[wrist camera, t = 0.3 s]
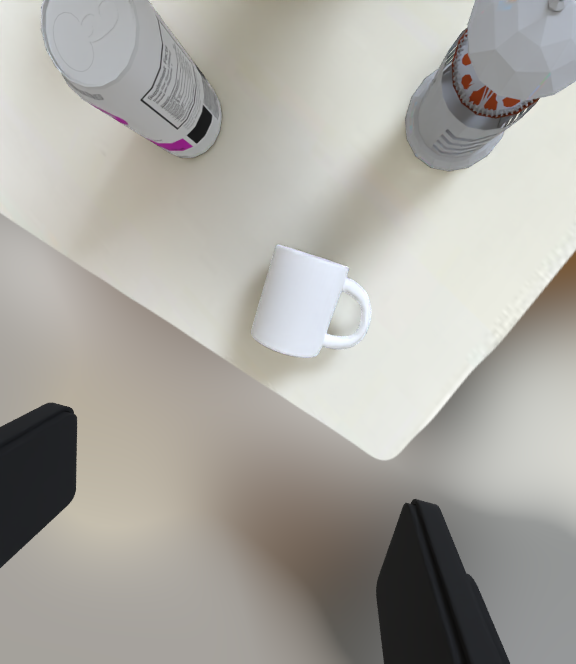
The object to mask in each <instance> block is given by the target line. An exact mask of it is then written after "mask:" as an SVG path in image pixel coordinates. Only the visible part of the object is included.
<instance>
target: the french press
mask: <svg viewBox="0 0 576 664" xmlns="http://www.w3.org/2000/svg"><path fill="white" fill-rule="evenodd" d="M456 46H457V47H456ZM455 47H456V48H455ZM454 48H455V49H454ZM453 49H454V50H453ZM452 50H453V51H452ZM451 51H452V52H451ZM450 52H451V53H450ZM454 52H455V53H454ZM449 53H450V54H449ZM453 53H454V54H453ZM452 54H453V55H452ZM451 55H452V56H451ZM447 56H448V57H447ZM450 56H451V57H450ZM449 57H450V58H449ZM453 57H454V58H453ZM448 58H449V59H448ZM452 58H453V59H452ZM447 59H448V60H447ZM451 59H452V60H451ZM446 60H447V61H446ZM450 60H451V61H450ZM445 61H446V62H445ZM449 61H450V62H449ZM448 62H449V63H448ZM451 62H452V63H451ZM447 63H448V64H447ZM575 81H576V0H475V3H474V6H473V9H472V12H471V16H470V19H469V22H468V27H467V28H466V29H465V30H464V31H462V33H461V34H460V35H459V37H458V38H457V40H456V41H455V42H454V44H453V45H452V47H451V48H450V49H449V51H448V53H447V54H446V56H445V58H444V60H443V62H442V63H441V65H440V67H439V69H437V70H436V71H435V72H433V73H432V74H430V75H429V76H428V77H426V78H425V79H424V80H423V82H422V83H421V85H420V86H419V87H418V89H417V90H416V92H415V93H414V94H413V96H412V97H411V101H410V104H409V108H408V111H407V115H406V118H405V121H406V135H407V140H408V142H409V144H410V146H411V148H412V150H413V152H414V154H415V156H416V157H417V158H419V159H420V160H421V161H423V162H424V163H425V164H427V165H428V166H429V167H431V168H436V169H440V170H445V171H453V170H458V169H463V168H468V167H470V166H472V165H473V164H475V163H476V162H478V161H480V160H481V159H483V158H484V157H486V156H487V155H488V154H489V153H490V152H491V151H492V149H493V148H494V147H495V146H496V144H497V143H498V142H499V141H500V140H501V138H502V136H503V133H504V131H505V130H506V129H507V128H509V127H510V126H511V125H513V124H514V123H516V122H517V121H518V120H519V119H521V118H522V117H523V116H524V115H525V114H526V113H527V112H528V111H529V110H530V109H531V108H532V107H533V106H534V105H535V104H536V103H537V101H538V100H539V99H540V98H541V97H546V96H550V95H554V94H556V93H557V92H559V91H561V90H562V89H564V88H566V87H567V86H569V85H570V84H572V83H574V82H575ZM527 107H528V108H527ZM526 108H527V110H526V112H525V113H524V114H523V112H524V110H525V109H526ZM519 112H520V114H519V116H518V117H517V119H518V118H519V117H520V116H521V115H522V114H523V115H522V116H521V117H520V118H519V119H518V120H517V119H516V120H517V121H516V120H515V121H514V119H515V117H516V115H517V114H518V113H519ZM512 117H513V118H512ZM511 118H512V119H511ZM510 119H511V121H510V123H509V124H508V122H509V120H510ZM513 121H514V122H513ZM512 122H513V123H512ZM511 123H512V124H511ZM507 124H508V125H507ZM506 125H507V126H506Z"/></svg>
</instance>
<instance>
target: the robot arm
mask: <svg viewBox="0 0 576 664" xmlns="http://www.w3.org/2000/svg"><path fill="white" fill-rule="evenodd" d="M76 451H77V417H76V415H75V414H74V411H73V409H72V408H70V407H67V406H63V405H60V404H56V403H47V404H45V405H42V406H41V407H39V408H37V409H35V410H33V411H31V412H29V413H27V414H25V415H23V416H21V417H19V418H17V419H15V420H13V421H12V422H9V423H7V424H5V425H3V426H2V427H0V568H1V567H2V566H3V565H4V564H5V563H6V562H7V561H8V560H9V559H11V558H12V557H13V556H14V555H15V554H16V553H17V552H18V551H19V550H20V549H21V548H22V547H23V546H25V545H26V544H27V543H28V542H29V541H30V540H31V539H32V538H33V537H34V536H35V535H36V534H37V533H38V532H40V531H41V530H42V529H43V528H44V527H45V526H46V525H47V524H48V523H49V522H50V521H51V520H52V519H54V518H55V517H56V516H57V515H58V514H59V513H60V512H61V511H62V510H63V509H64V508H65V507H66V506H67V505H68V504H69V503H70V502H71V501H72V499H73V497H74V495H75V492H76V455H77V453H76ZM376 596H377V606H378V614H379V623H380V632H381V641H382V649H383V658H384V664H510V662H509V660H508V657H507V655H506V653H505V650H504V648H503V645H502V643H501V641H500V638H499V636H498V634H497V631H496V629H495V627H494V624H493V622H492V620H491V617H490V615H489V612H488V611H487V608H486V605H485V603H484V601H483V599H482V596H481V593H480V591H479V589H478V587H477V585H476V583H475V581H474V579H473V578H472V577H471V576H470V575H469V574H466V572H465V569H464V567H463V564H462V562H461V559H460V557H459V554H458V552H457V549H456V547H455V545H454V542H453V540H452V537H451V535H450V532H449V530H448V527H447V525H446V522H445V520H444V517H443V515H442V512H441V510H440V508H439V506H437V505H436V504H432V503H428V502H424V501H420V500H417V499H414V500H413V501H412V502H411V504H408V503H405V504H404V506H403V508H402V511H401V514H400V517H399V520H398V522H397V526H396V528H395V531H394V534H393V537H392V540H391V543H390V545H389V548H388V551H387V554H386V557H385V560H384V563H383V566H382V569H381V571H380V574H379V577H378V581H377V587H376Z"/></svg>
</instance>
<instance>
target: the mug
mask: <svg viewBox="0 0 576 664" xmlns="http://www.w3.org/2000/svg"><path fill="white" fill-rule="evenodd" d="M348 271H349V268H348V267H347V266H345V265H342V264H339V263H336V262H333V261H330V260H327V259H324V258H321V257H318V256H315V255H312V254H309V253H306V252H303V251H300V250H296V249H293V248H290V247H286V246H283V245H276V247H275V250H274V253H273V257H272V260H271V264H270V267H269V271H268V274H267V278H266V281H265V285H264V288H263V292H262V295H261V298H260V302H259V305H258V309H257V312H256V316H255V319H254V323H253V326H252V330H251V334H252V336H253V338H254V339H255V340H256V341H257V342H259V343H260V344H262V345H263V346H265V347H267V348H269V349H271V350H274V351H276V352H279V353H282V354H285V355H289V356H294V357H301V358H311V357H315V356H317V355H318V354H319V352H320V349H321V348H322V347H326V348H331V349H347V348H350V347H353V346H355V345H356V344H358V343H359V342H360V341H361V340H362V339H363V338H364V336H365V334H366V333H367V330H368V328H369V324H370V320H371V305H370V300H369V297H368V295H367V293H366V291H365V290H364V289H363V288H362V286H360V285H359V284H358V283H357V282H355V281H354V280H352V279H350V278H348V277H347V274H348ZM341 292H345V293H347V294H349V295H351V296H352V297H353V298H354V299H356V301H357V302H358V303H359V305H360V307H361V311H362V315H361V321H360V324H359V327H358V329H357V330H356V332H355V333H353V334H352V335H350V336H334V335H329V334H327V330H328V327H329V324H330V321H331V319H332V316H333V313H334V310H335V307H336V305H337V302H338V299H339V296H340V294H341Z"/></svg>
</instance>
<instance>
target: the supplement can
mask: <svg viewBox="0 0 576 664" xmlns="http://www.w3.org/2000/svg"><path fill="white" fill-rule="evenodd" d="M41 32H42V36H43V40H44V44H45V48H46V51H47V52H48V54H49V56H50V58H51V60H52V61H53V63H54V65H55V67H56V68H57V69H58V70H59V71H60V72H61V74H62V75H63V77H64V79H65V81H66V82H67V84H68V86H69V87H70V88H71V89H72V90H73V91H74V92H76V93H77V94H78V95H79V96H80V97H81V98H82V99H83V100H84V101H86V102H88V103H89V104H91V105H93V106H94V107H96V108H97V109H99V110H101V111H102V112H104V113H106V114H107V115H109V116H111V117H112V118H114V119H115V120H117V121H119V122H120V123H122V124H124V125H125V126H127V127H128V128H130V129H132V130H133V131H135V132H137V133H138V134H140V135H141V136H143V137H145V138H146V139H148V140H150V141H151V142H153V143H154V144H156V145H158V146H159V147H161V148H163V149H164V150H166V151H168V152H169V153H171V154H174V155H176V156H178V157H181V158H193V157H196V156H198V155H200V154H203V153H205V152H206V151H207V150H208V149H209V148H210V147H211V146H212V145H213V144H214V142H215V140H216V138H217V136H218V134H219V132H220V126H221V119H222V114H221V107H220V101H219V99H218V97H217V95H216V93H215V91H214V89H213V87H212V86H211V85H210V83H209V82H208V80H207V79H206V78H205V76H204V75H203V74H202V72H201V71H200V70H199V68H198V67H197V66H196V64H195V63H194V62H193V60H192V59H191V57H190V56H189V55H188V53H187V52H186V51H185V49H184V48H183V47H182V45H181V44H180V43H179V41H178V40H177V39H176V37H175V36H174V34H173V33H172V32H171V30H170V29H169V28H168V26H167V25H166V24H165V22H164V21H163V20H162V18H161V17H160V15H159V14H158V13H157V11H156V10H155V9H154V7H153V6H152V5H151V3H150V2H149V1H148V0H43V3H42V6H41Z"/></svg>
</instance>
